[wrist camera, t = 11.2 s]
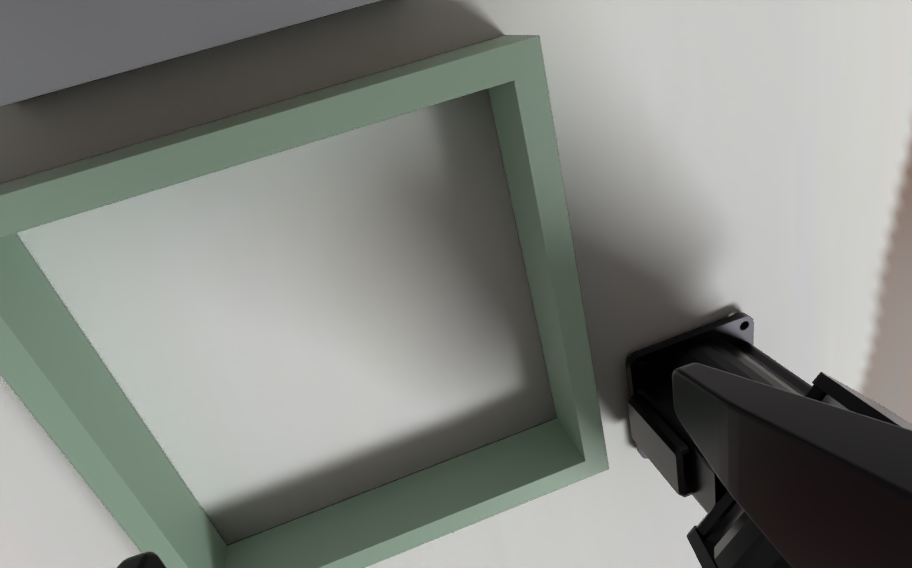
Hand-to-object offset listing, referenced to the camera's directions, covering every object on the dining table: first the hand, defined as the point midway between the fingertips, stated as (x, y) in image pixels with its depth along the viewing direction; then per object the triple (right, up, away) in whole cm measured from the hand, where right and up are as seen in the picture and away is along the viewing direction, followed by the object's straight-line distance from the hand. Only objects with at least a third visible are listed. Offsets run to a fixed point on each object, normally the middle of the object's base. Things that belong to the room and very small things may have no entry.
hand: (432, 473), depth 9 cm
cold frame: (-4, +1, +13) cm, 13 cm away
